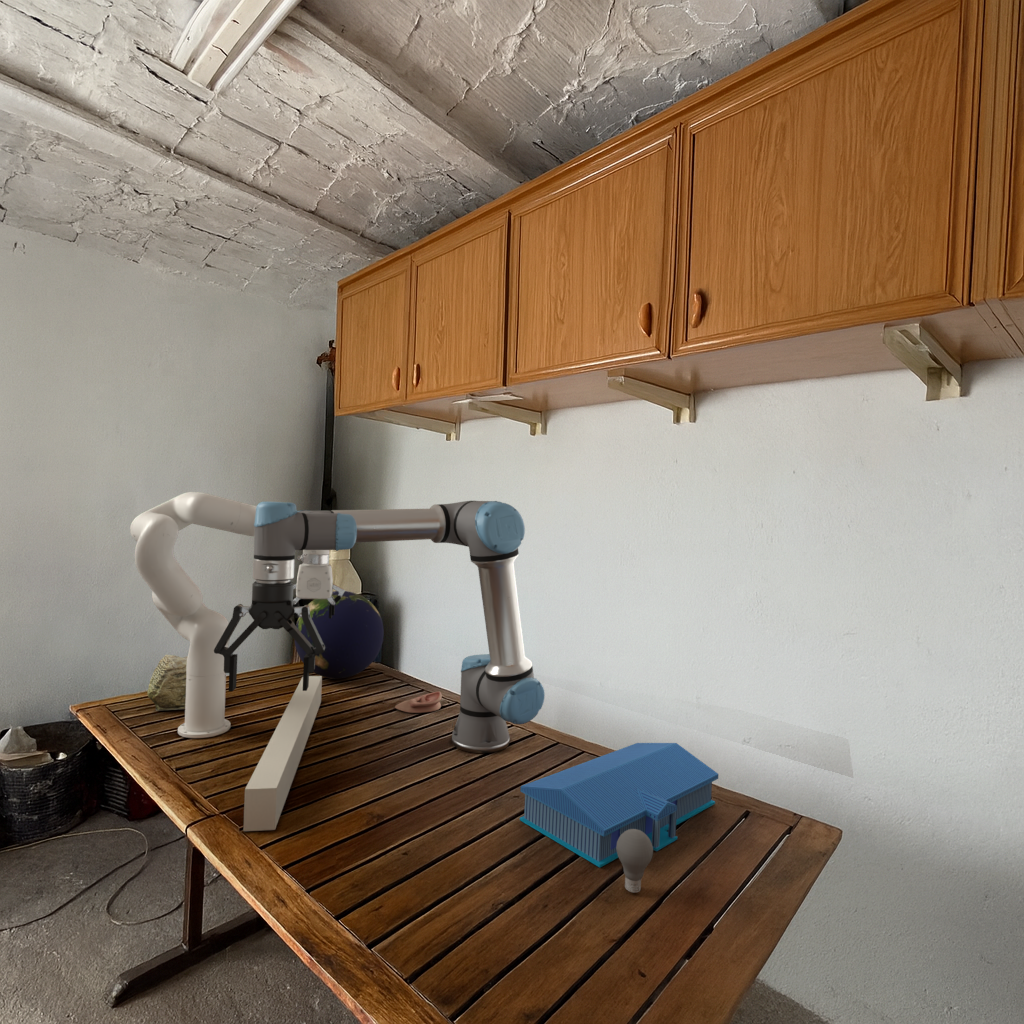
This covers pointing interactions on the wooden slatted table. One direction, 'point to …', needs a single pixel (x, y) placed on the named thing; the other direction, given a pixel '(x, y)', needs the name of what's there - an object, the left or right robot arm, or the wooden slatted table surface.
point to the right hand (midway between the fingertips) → (269, 689)
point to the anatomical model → (421, 703)
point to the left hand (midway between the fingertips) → (313, 617)
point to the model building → (619, 799)
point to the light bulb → (634, 857)
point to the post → (281, 759)
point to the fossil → (169, 683)
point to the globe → (344, 635)
